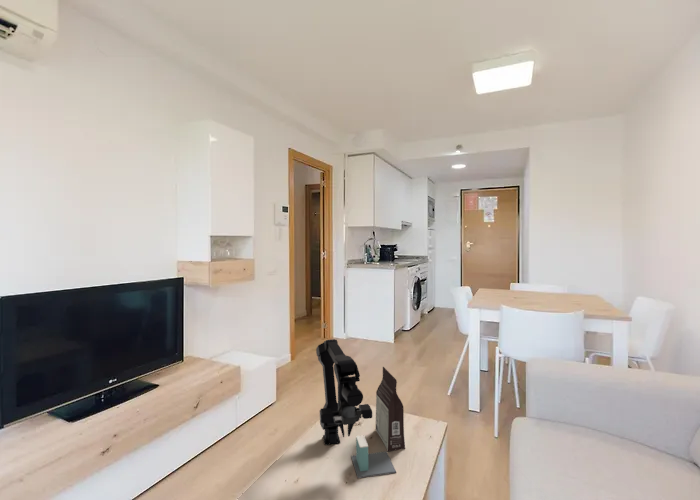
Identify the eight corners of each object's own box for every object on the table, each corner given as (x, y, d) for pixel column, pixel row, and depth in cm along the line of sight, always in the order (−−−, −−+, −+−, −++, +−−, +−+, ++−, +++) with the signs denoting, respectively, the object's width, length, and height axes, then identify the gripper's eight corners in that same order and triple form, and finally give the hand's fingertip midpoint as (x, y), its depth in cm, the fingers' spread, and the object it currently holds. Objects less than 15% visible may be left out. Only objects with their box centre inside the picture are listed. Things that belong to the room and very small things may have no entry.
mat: (351, 457, 135) (351, 455, 135) (386, 452, 138) (386, 451, 138) (357, 478, 123) (357, 476, 123) (396, 472, 126) (396, 471, 126)
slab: (356, 459, 133) (356, 435, 132) (364, 458, 133) (363, 435, 133) (360, 471, 126) (360, 446, 126) (368, 470, 126) (368, 445, 126)
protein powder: (407, 448, 140) (407, 379, 139) (386, 452, 138) (386, 382, 137) (392, 427, 156) (391, 364, 155) (373, 430, 154) (372, 367, 153)
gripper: (322, 407, 118) (322, 452, 119) (376, 401, 121) (376, 446, 122) (319, 392, 129) (319, 434, 129) (368, 388, 132) (369, 428, 133)
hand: (346, 436), depth 128 cm, fingers closed
